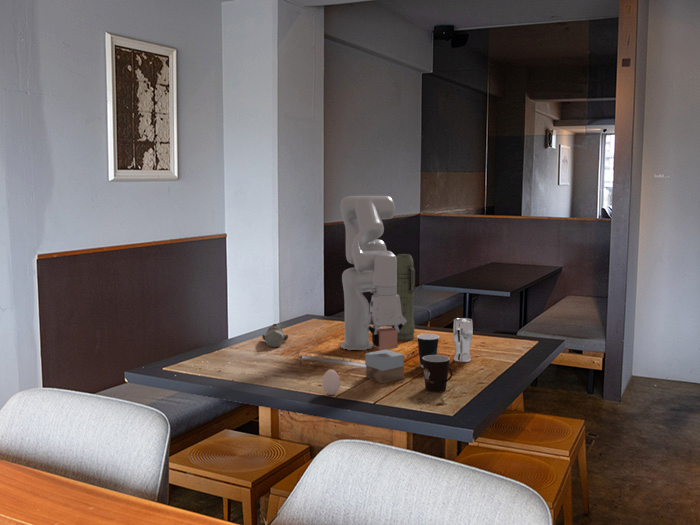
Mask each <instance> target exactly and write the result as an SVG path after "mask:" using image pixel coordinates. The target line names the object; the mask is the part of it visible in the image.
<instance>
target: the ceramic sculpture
mask: <svg viewBox="0 0 700 525" xmlns="http://www.w3.org/2000/svg"><path fill="white" fill-rule="evenodd" d="M261 338H262V340H263V341H265V343H266V345H267V346H268V347H271V348H278V347H281V346H282V345H283V343H284V342H285V341H287V340H288V339H289V335H288V334H285V332H284V331H283V328H281V327H280V326H278V324H276V323H274V324H272V325H270V327H269V328H268V329H267V331H266V333H265V334H262V335H261Z"/></svg>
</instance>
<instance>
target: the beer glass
mask: <svg viewBox="0 0 700 525" xmlns="http://www.w3.org/2000/svg"><path fill="white" fill-rule="evenodd" d="M473 326H474V325H473V319H472V318H467V317H460V318H459V317H457V318H454V319H453V328H452V329H453V330H452V332H453V335H452V336H453V340H454V347H455V348H454V350H455V351H454V356H453V357H454V358H453V360H454V361H455V362H458V363H469V362H471V361H472V358H471V345H472V340H473V335H474V334H473V330H474V329H473Z"/></svg>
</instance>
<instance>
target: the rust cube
mask: <svg viewBox="0 0 700 525" xmlns="http://www.w3.org/2000/svg"><path fill="white" fill-rule="evenodd" d="M378 335H379V346H378V347H376V346H374V345H373V347H374V348H376V349H379V351H380V350H392V349H398V341H397V330H396V329H394V328H392V327H391V326H383V327H379V330H378Z"/></svg>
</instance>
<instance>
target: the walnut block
mask: <svg viewBox="0 0 700 525" xmlns="http://www.w3.org/2000/svg"><path fill="white" fill-rule="evenodd" d="M365 367H366V368H365V377H366V378H367V379H371V380H373V381H376V382H378V383H380V384H385V383H391V382H394V381H402V380H404V379H405V366H404V365H403V367H398V368H394V369H389V370H384V371H382V370H379V369H376V368H373V367H370V366H367V365H365Z"/></svg>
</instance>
